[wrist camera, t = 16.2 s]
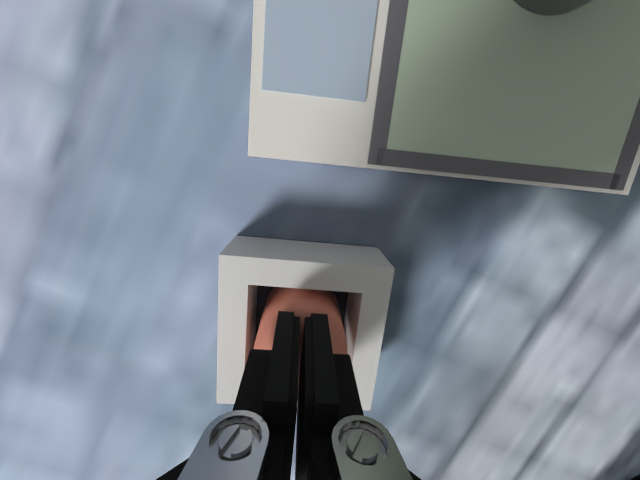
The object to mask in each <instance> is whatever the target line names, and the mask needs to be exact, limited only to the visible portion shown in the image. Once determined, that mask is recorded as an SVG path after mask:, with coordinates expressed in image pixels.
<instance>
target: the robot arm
mask: <svg viewBox="0 0 640 480" xmlns="http://www.w3.org/2000/svg"><path fill="white" fill-rule="evenodd" d="M299 340H300V317H299V316H294V312H288V311H278V317H277V323H276V328H275V334H274V340H273V346H272V350H262V349H250V352H249V355H248V358H247V362H246V365H245V369H244V372H243V376H242V379H241V383H240V386H239V390H238V393H237V397H236V400H235V404H234V407H233V411H230V412H227V413H225V414H222V415H220V416H218V417H217V418H216V419H214V420H213V421H212V422H211V423H210V424H209V425H208V426H207V428H206V429H205V430H204V432H203V434H202V436H201V438H200V439H199V441H198V443H197V445H196V447H195V448H194V450H193V452H192V454H191V456H190V458H188V459H187V460H185V461H184V462H182V463H181V464H179V465H177V466H176V467H174V468H173V469H171V470H170V471H168V472H167V473H165V474H164V475H162V476H161V477H159V478H158V479H156V480H290V475H291V465H292V455H293V445H294V434H295V424H296V414H297V436H296V469H295V480H421V479H420V478H418V477H417V476H416V475H414V474H413V473H412V472H411V471H409V470H408V469H407V467H406V465H405V462H404V460H403V458H402V456H401V454H400V452H399V450H398V448H397V446H396V443H395V441H394V439H393V437H392V436H391V434H390V433H389V431H388V430H387V429H386V428H385V427H384V426H383V425H382V424H381V423H379V422H377V421H376V420H374V419H372V418H369V417H366V416H364V415H363V410H362V406H361V402H360V397H359V393H358V388H357V384H356V380H355V375H354V371H353V366H352V362H351V358H350V355H349V354H333V350H332V343H331V336H330V329H329V322H328V315H327V314H318V313H311V317H305V322H304V332H303V342H302V352H301V363H300V373H299ZM298 374H299V383H298ZM297 401H298V403H297Z"/></svg>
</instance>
